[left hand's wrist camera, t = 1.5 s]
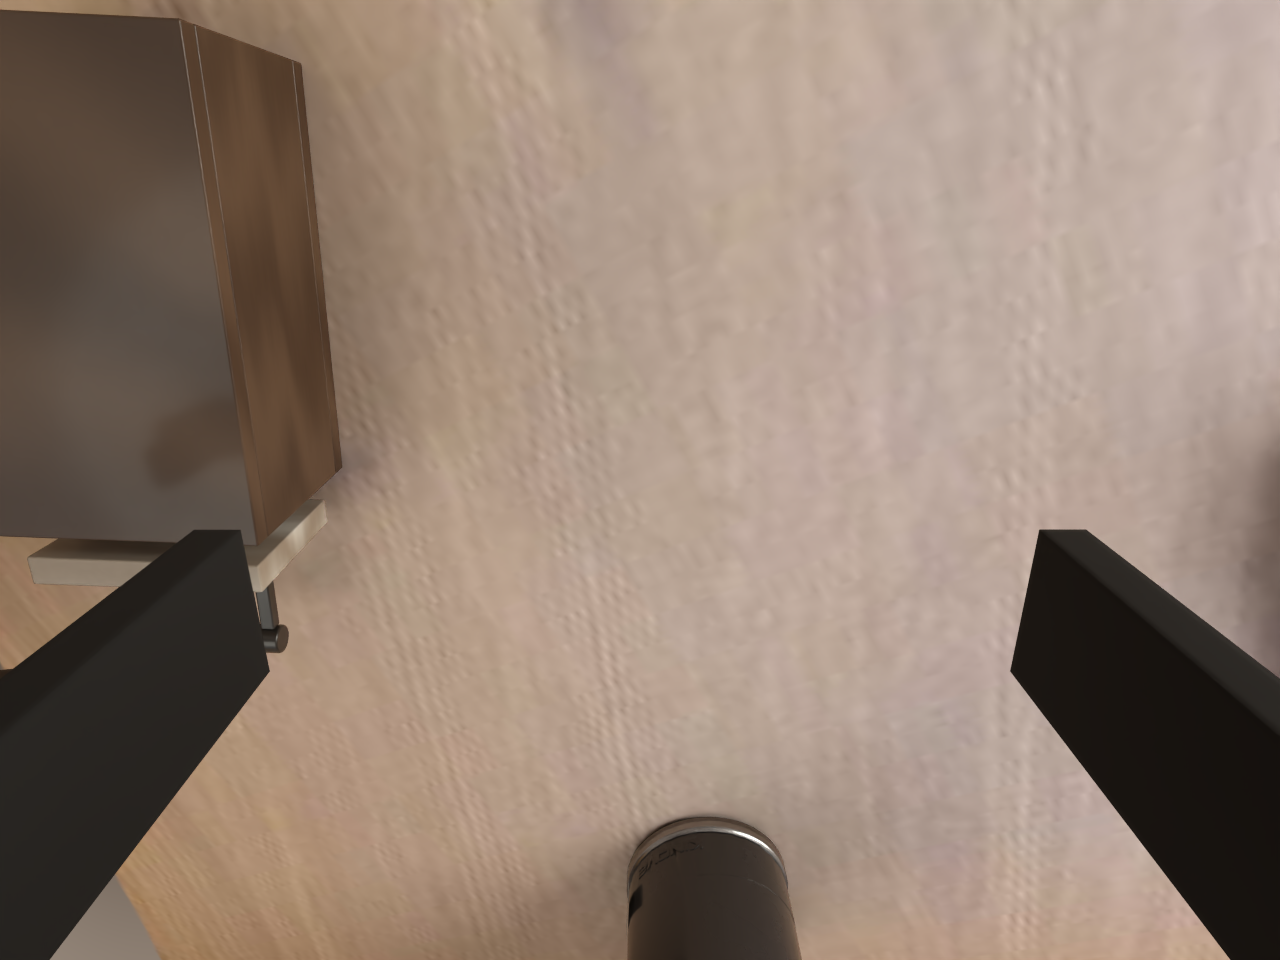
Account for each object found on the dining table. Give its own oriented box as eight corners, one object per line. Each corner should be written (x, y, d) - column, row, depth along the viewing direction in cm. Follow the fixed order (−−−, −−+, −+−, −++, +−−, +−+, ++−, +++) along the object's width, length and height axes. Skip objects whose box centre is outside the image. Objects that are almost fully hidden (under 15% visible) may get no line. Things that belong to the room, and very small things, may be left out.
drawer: (338, 614, 38) (278, 699, 32) (158, 607, 38) (62, 691, 32) (287, 160, 31) (195, 153, 25) (63, 149, 31) (-88, 139, 24)
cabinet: (342, 467, 37) (258, 547, 29) (128, 459, 36) (-18, 536, 28) (301, 63, 30) (179, 17, 22) (43, 50, 30) (-174, 0, 22)
